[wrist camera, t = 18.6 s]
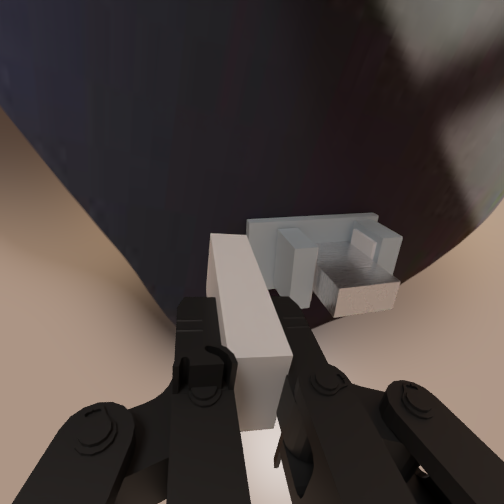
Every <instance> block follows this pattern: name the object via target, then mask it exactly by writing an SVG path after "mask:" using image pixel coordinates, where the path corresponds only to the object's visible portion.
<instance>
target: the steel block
mask: <svg viewBox="0 0 504 504" xmlns="http://www.w3.org/2000/svg"><path fill="white" fill-rule="evenodd" d="M314 244H315V245H316V246H317V247H318V255H317V262H316V269H315V276H314V283H313V291H314V293H315V294H316V295H317V297H318V298H319V299H320V301H321V302H322V303H323V304H324V306H325V307H326V308H327V310H328V311H329V312H330V313H331V315H332V316H333V317H334V318H335V317H342V316H349V315H356V314H363V313H370V312H377V311H384V310H392V309H393V306H394V302H395V299H396V296H397V292H398V289H399V285H400V281H399V280H398V279H397V278H395V277H394V276H393V275H391V274H390V273H389V272H387V271H386V270H385V269H384V268H382V267H381V266H380V265H378V264H377V263H376V262H374V261H373V260H372V259H371V258H369V257H368V256H367V255H365V254H364V253H363V252H361V251H360V250H359V249H358V248H356V247H355V246H354V245H352V244H351V243H350V242H348V241H338V242H325V243H314Z"/></svg>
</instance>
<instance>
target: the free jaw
mask: <svg viewBox="0 0 504 504" xmlns="http://www.w3.org/2000/svg"><path fill="white" fill-rule="evenodd" d="M317 255H318V247H317V246H316V245H315V244H314V243H313V242H312V241H311V240H310V239H309V238H308V237H307V236H306V235H305V234H304V233H303V232H302V231H301V230H300V229H299V228H287V229H278V231H277V244H276V258H275V271H274V284H273V285H274V286H275V288H276V290H277V291H278V293H279V295H280V296H289V297H290V298H291V299H292V300H293V301H294V302H296V303H297V304H298V305H299V307H300V309H302V308H309V307H310V301H311V297H312V290H313V283H314V276H315V269H316V262H317Z"/></svg>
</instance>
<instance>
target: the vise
mask: <svg viewBox="0 0 504 504" xmlns="http://www.w3.org/2000/svg"><path fill="white" fill-rule="evenodd" d="M378 217H379V216H378V215H376V214H375V213H355V214H337V215H318V216H300V217H281V218H263V219H247V228H246V235H247V238H248V240H249V243H250V245H251V248H252V251H253V253H254V256H255V258H256V261H257V264H258V266H259V269H260V271H261V274H262V276H263V279H264V282H265V284H266V287H267V289H276V288H275V286H274V285H273V284H274V271H275V258H276V244H277V231H278V229H287V228H299V229H300V230H301V231H302V232H303V233H304V234H305V235H306V236H307V237H308V238H309V239H310V240H311V241H312V242H313V243H325V242H338V241H348V242H350V243H351V244H352V245H354V246H355V247H356V248H358V249H359V250H360V251H361V252H363V253H364V254H365V255H367V256H368V257H369V258H371V259H372V260H373V261H374V262H376V263H377V264H378V265H380V266H381V267H382V268H384V269H385V270H386V271H387V272H389V273H390V274H391V275H393V271H394V268H395V264H396V260H397V257H398V253H399V249H400V246H401V242H402V238H403V237H402V236H401V235H399V234H397V233H395V232H394V231H392V230H390V229H388V228H387V227H385V226H383V225H381V224H380V223H378V222H377V221H378Z"/></svg>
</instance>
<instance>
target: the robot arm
mask: <svg viewBox="0 0 504 504" xmlns="http://www.w3.org/2000/svg"><path fill="white" fill-rule="evenodd" d="M206 292H207V297H184V299H183V300H182V302H181V303H180V304H179V306H178V307H177V324H176V343H175V361H174V364H173V378H172V380H171V382H170V384H169V386H168V387H167V388H166V389H165V391H164V392H163V393H162V394H160V395H159V396H158V397H156V398H155V399H153V400H151V401H149V402H147V403H145V404H142V405H139V406H136V407H134V408H131V409H128V410H127V409H126V408H125V407H124V406H122V405H120V404H116V403H114V402H100V403H96V404H93V405H90V406H87V407H85V408H83V409H81V410H80V411H78V412H77V413H75V414H74V415H73V416H71V417H70V418H69V419H68V420H67V422H65V424H64V425H63V426H62V427H61V428H60V429H59V431H58V433H57V434H56V435H55V437H54V439H53V440H52V442H51V443H50V445H49V446H48V448H47V450H46V451H45V453H44V454H43V456H42V457H41V459H40V460H39V462H38V464H37V465H36V467H35V468H34V470H33V471H32V473H31V475H30V476H29V478H28V479H27V481H26V483H25V484H24V485H23V487H22V489H21V490H20V492H19V493H18V495H17V496H16V498H15V500H14V501H13V503H12V504H158V503H160V502H162V501H163V500H165V499H167V503H166V504H251V500H250V495H249V487H248V482H247V474H246V467H245V461H244V454H243V447H242V441H241V434H240V432H242V431H252V430H262V429H272V428H274V424H275V420H276V417H277V418H278V421H279V425H280V429H281V436H280V439H279V443H278V446H277V449H276V453H275V456H274V468H278V467H279V464H280V460H282V464H283V468H284V472H285V476H286V480H287V484H288V489H289V493H290V496H291V501H292V504H504V462H503V461H502V460H501V459H500V458H499V457H498V456H497V455H496V454H495V453H494V452H493V451H492V450H491V449H490V448H489V447H488V446H487V445H486V444H485V443H484V442H482V441H481V440H480V439H479V438H478V437H477V436H476V435H475V434H474V433H473V432H472V431H471V430H470V429H469V428H468V427H467V426H466V425H465V424H464V423H463V422H462V421H461V420H460V419H458V418H457V417H456V416H455V415H454V414H453V413H452V412H451V411H450V410H449V409H448V408H447V407H446V406H445V405H444V404H443V403H442V402H441V401H439V399H438V398H436V397H435V396H434V395H433V394H432V393H430V392H429V391H428V390H426V389H425V388H424V387H421V386H420V385H417V384H415V383H413V382H409V381H405V380H400V381H394V382H392V383H391V384H390V385H389V386H388V388H387V389H386V391H385V392H383V391H378V390H374V389H370V388H365V387H361V386H358V385H355V384H352V383H351V382H350V380H349V379H348V378H347V376H346V375H345V374H344V373H343V372H341V371H340V370H339V369H338V368H336V367H335V366H332V365H330V364H328V362H327V361H326V358H325V356H324V355H323V353H322V350H321V349H320V346H319V345H318V342H317V340H316V338H315V336H314V334H313V332H312V331H311V329H310V328H309V325H308V323H307V321H306V319H305V318H304V315H303V313H302V311H301V309H300V307H299V305H298V304H297V303H296V302H294V301H293V300H292V299H291V298H290V297H289V296H270V295H269V292H268V289H267V287H266V284H265V282H264V279H263V276H262V274H261V271H260V269H259V266H258V264H257V261H256V258H255V256H254V253H253V251H252V248H251V245H250V243H249V240H248V238H247V235H233V234H213V233H211V234H210V247H209V260H208V272H207V285H206ZM420 465H421V466H422V467H423V469H424V470H425V471H426V472H427V474H426V473H424V472H423V471H421V470H420V469H419V466H420Z"/></svg>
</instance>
